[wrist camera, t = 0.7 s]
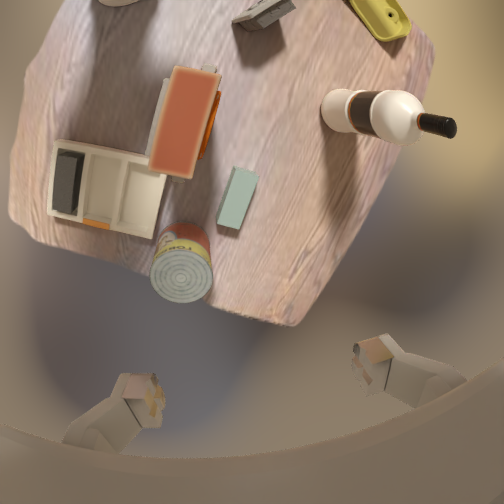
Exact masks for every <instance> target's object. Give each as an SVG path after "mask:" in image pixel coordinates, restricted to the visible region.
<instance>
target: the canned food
mask: <svg viewBox="0 0 504 504" xmlns="http://www.w3.org/2000/svg"><path fill="white" fill-rule="evenodd" d="M149 277H150V282H151V285H152V287H153V289H154V290H155V291H156V293H158V294H159V295H160V296H161V297H163V298H164V299H166V300H168V301H171V302H175V303H189V302H193V301H196V300H198V299H200V298H202V297H203V296H204V295H205V294H206V293H207V292H208V291H209V289H210V288H211V285H212V282H213V273H212V268H211V257H210V242H209V238H208V236H207V234H206V233H205V232H204V230H203V229H202V228H200V227H199V226H197V225H195V224H193V223H190V222H176V223H173V224H171V225H169V226H167V227H166V228H165V229H164V230H163V231H162V232H161V234H160V235H159V238H158V242H157V247H156V251H155V255H154V259H153V263H152V266H151V269H150V274H149Z"/></svg>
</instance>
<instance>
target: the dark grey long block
mask: <svg viewBox="0 0 504 504" xmlns="http://www.w3.org/2000/svg"><path fill="white" fill-rule="evenodd" d="M84 159H85V155H84V154H79V153H73V152H67V151H66V152H64V153H62V154H59V155H58V157H57V164H56V172H55V182H54V193H53V210H57V211H62V212H66V213H70V214H71V213H72V212H73V211H74V210H75V209H76V208H77V207H78V202H79V193H80V185H81V178H82V171H83V165H84Z"/></svg>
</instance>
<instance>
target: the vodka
mask: <svg viewBox="0 0 504 504" xmlns="http://www.w3.org/2000/svg"><path fill="white" fill-rule="evenodd" d="M321 114H322V117H323V119H324V121H325V123H326V124H327V125H328V126H329V127H330V128H331V129H333V130H334V131H337V132H342V133H349V132H355V133H357V134H359V135H363V136H372V137H376V138H380V139H383V140H384V141H387V142H390V143H394V144H396V145H400V146H408V145H412V144H414V143H416V142H417V141H418V140H419V139H420V138H421V137H422V135H423V133H424V132H428V133H432V134H436V135H440V136H443V137H447V138H450V139H451V138H453V137H454V136H455V135H456V132H457V126H456V123H455V121H454V120H453V119H452V118H448V117H444V116H438V115H432V114H427V113H425V111H424V109H423V106H422V105H421V103H420V102H419V100H418V99H417V98H416V97H415V96H413V95H412V94H410V93H408V92H405V91H401V90H394V91H392V90H386V91H367V90H358V91H350V90H347V89H335V90H332V91H330V92H329V93H328V94H327V95H326V96H325V97H324V99H323V101H322V104H321Z"/></svg>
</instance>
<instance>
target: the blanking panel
mask: <svg viewBox="0 0 504 504" xmlns="http://www.w3.org/2000/svg"><path fill="white" fill-rule="evenodd" d="M258 179H259V176H258V175H257V174H256V173H255V172H253V171H249V170H246V169H243V168H240V167H237V166H233V169H232V171H231V174H230V177H229V180H228V183H227V186H226V188H225V191H224V194H223V197H222V200H221V203H220V206H219V209H218V212H217V215H216V220H217V224H220V225H224V226H227V227H231V228H235V229H240V226H241V223H242V221H243V218H244V215H245V213H246V210H247V207H248V205H249V202H250V200H251V197H252V194H253V192H254V189H255V186H256V184H257V181H258Z"/></svg>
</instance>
